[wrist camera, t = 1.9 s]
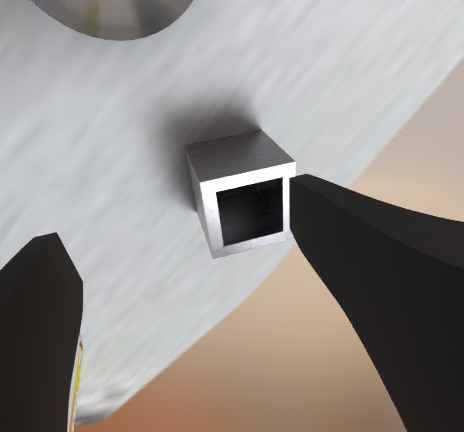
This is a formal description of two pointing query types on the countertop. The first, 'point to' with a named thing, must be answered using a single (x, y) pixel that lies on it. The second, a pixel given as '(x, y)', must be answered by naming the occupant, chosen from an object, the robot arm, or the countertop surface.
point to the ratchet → (115, 16)
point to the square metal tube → (245, 205)
